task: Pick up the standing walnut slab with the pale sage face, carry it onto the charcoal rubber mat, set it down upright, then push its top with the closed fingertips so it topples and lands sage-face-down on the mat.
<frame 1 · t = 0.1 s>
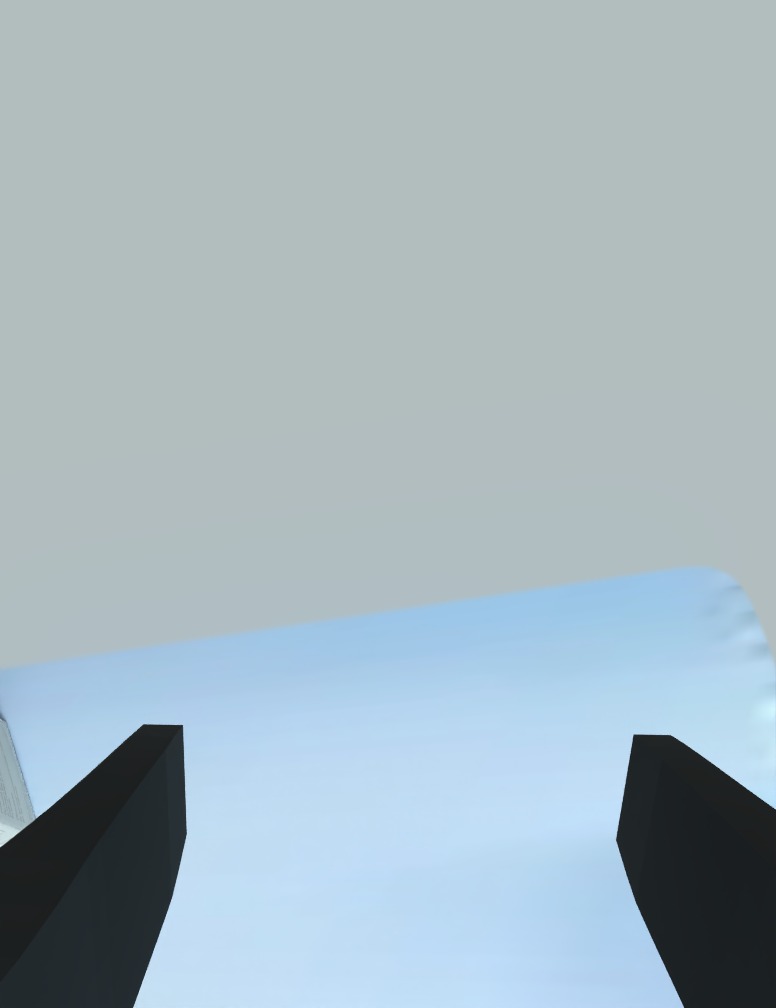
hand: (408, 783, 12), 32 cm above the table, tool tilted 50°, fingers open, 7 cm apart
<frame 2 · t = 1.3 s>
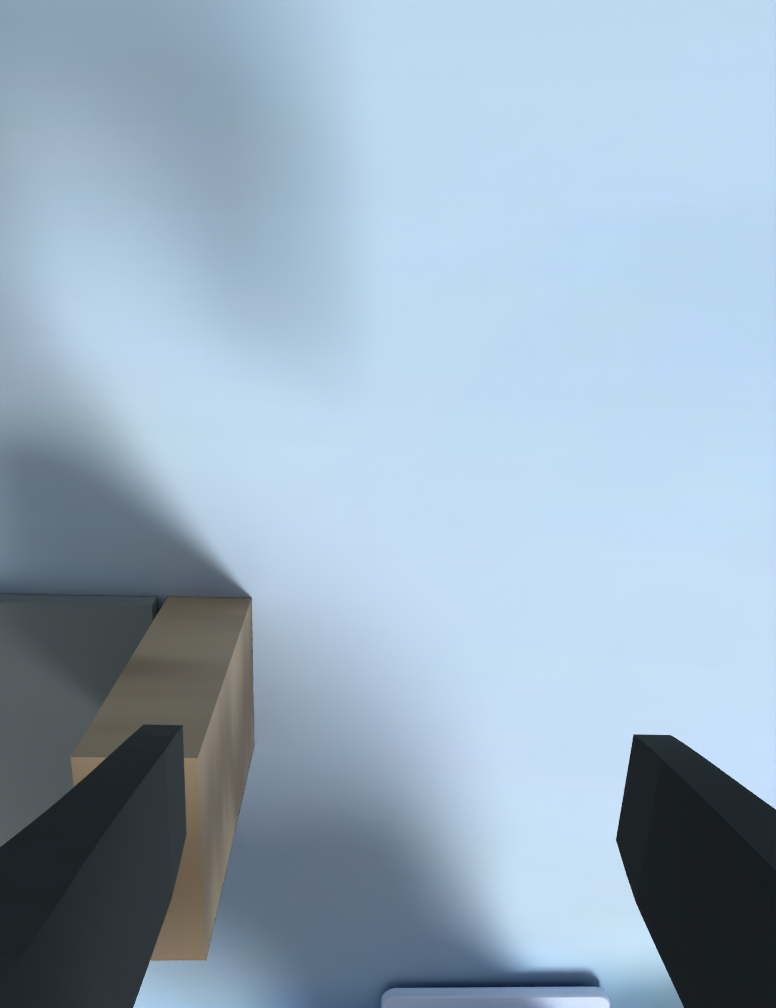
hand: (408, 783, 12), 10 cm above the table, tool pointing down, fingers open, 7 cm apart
slab: (212, 673, 22), on the table
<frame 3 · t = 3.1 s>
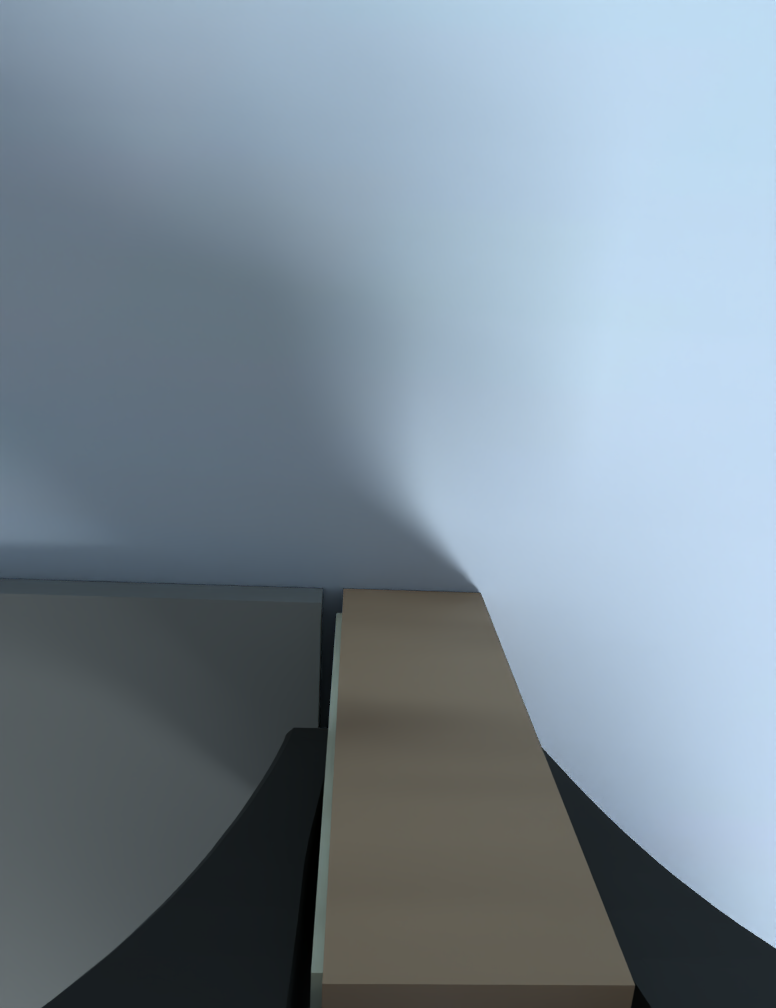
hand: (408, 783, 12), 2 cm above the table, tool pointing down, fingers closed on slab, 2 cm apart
mat: (26, 846, 14), on the table
slab: (404, 716, 13), on the table, touching gripper
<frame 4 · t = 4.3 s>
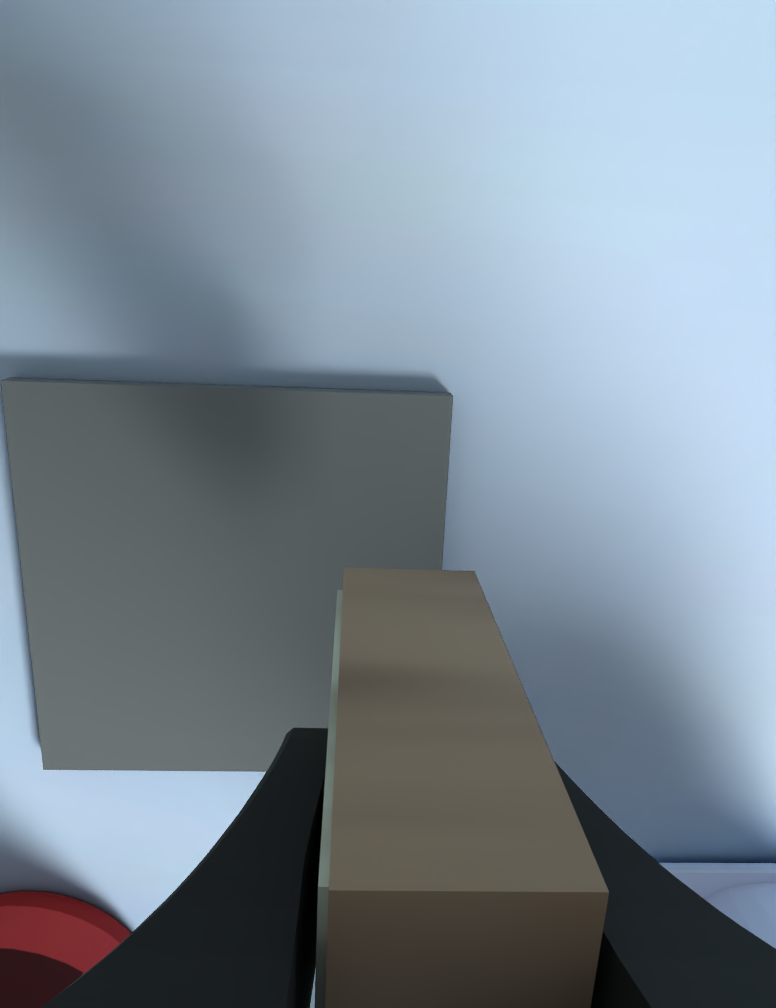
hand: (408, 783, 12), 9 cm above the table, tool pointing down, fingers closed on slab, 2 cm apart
canned food: (47, 974, 24), on the table
mat: (238, 586, 20), on the table
slab: (402, 690, 14), point 6 cm above the table, touching gripper
when the fingers open (3 cm above the table, at t = 5.8 s): slab stays where it is, resting on mat.
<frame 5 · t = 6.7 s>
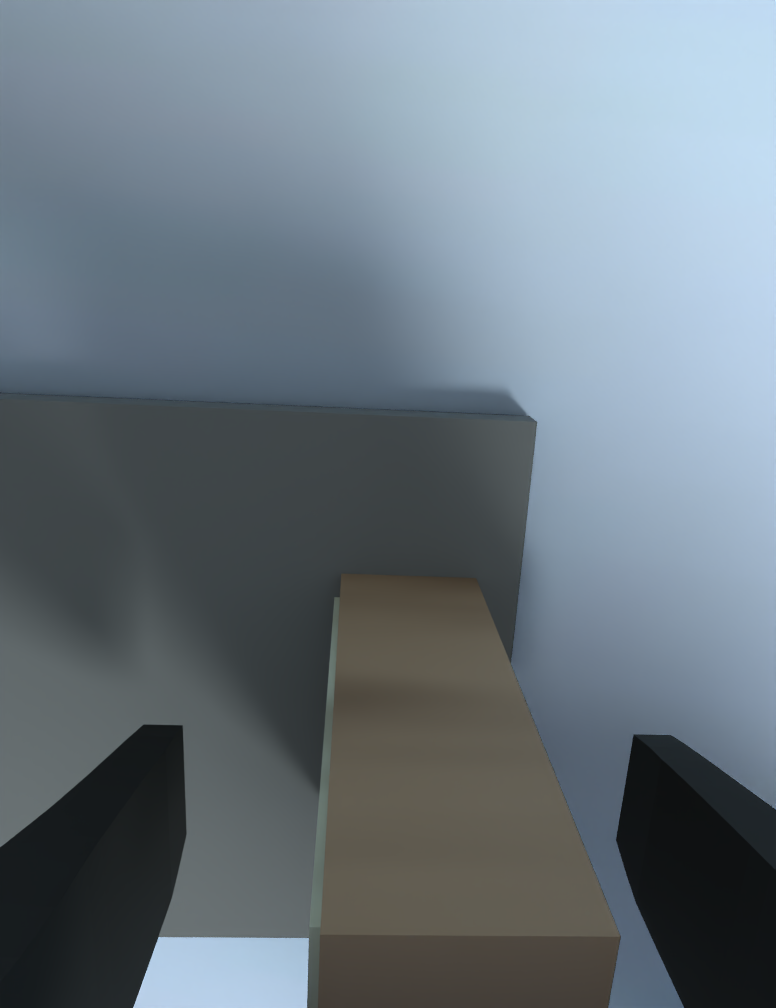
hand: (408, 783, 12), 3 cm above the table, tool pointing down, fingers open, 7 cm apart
mat: (218, 686, 14), on the table
slab: (401, 699, 14), point 1 cm above the table, touching mat
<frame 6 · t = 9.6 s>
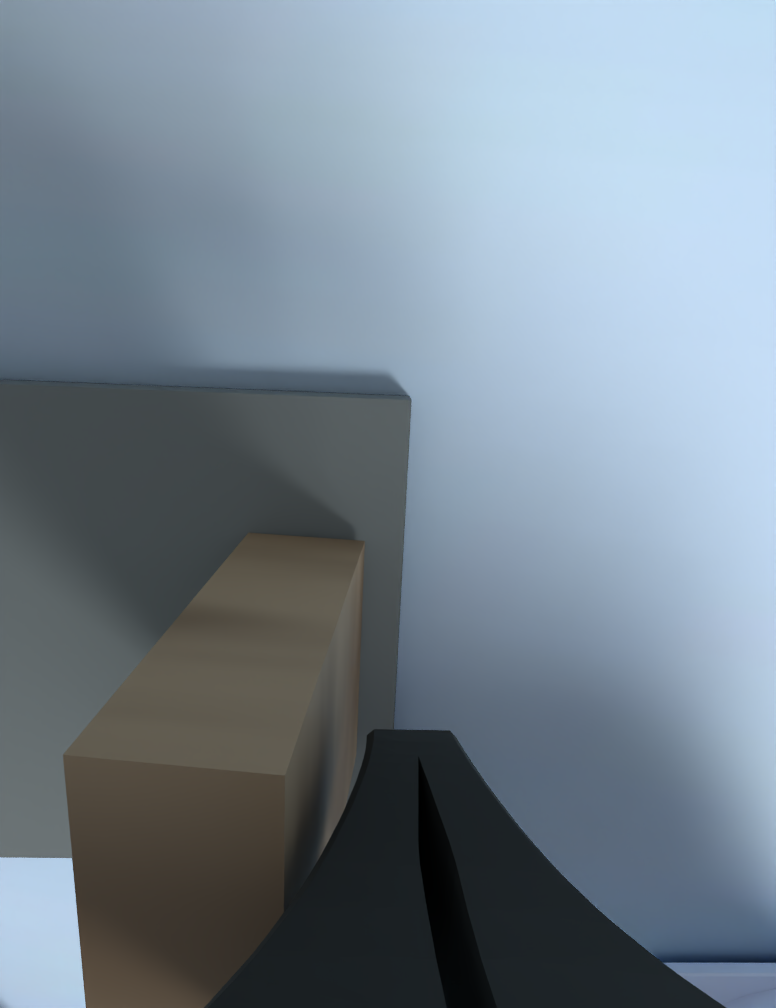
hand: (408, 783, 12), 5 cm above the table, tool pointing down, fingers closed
mat: (148, 634, 16), on the table
slab: (304, 647, 16), point 1 cm above the table, tilted 7°, touching mat
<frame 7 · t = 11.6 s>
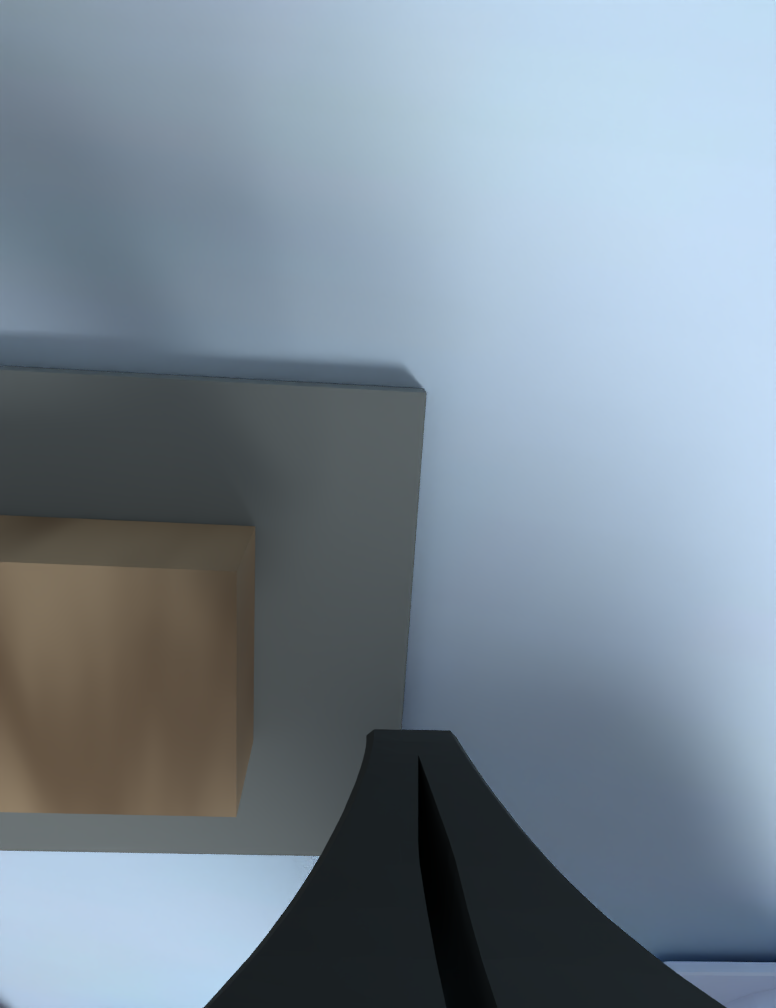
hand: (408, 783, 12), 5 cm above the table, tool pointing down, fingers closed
mat: (155, 626, 16), on the table
slab: (246, 667, 14), point 2 cm above the table, tilted 90°, touching mat
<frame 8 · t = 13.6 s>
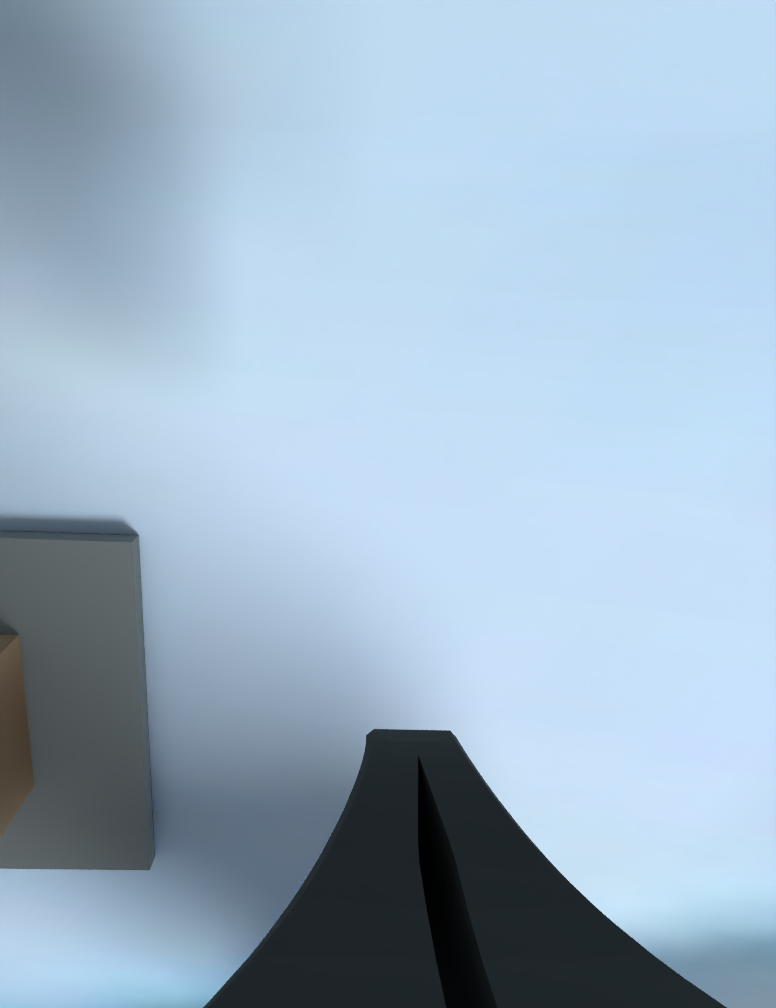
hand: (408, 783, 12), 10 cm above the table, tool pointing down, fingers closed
slab: (7, 737, 20), point 2 cm above the table, tilted 90°, touching mat
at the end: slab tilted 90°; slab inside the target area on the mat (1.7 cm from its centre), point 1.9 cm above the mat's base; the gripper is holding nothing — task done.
